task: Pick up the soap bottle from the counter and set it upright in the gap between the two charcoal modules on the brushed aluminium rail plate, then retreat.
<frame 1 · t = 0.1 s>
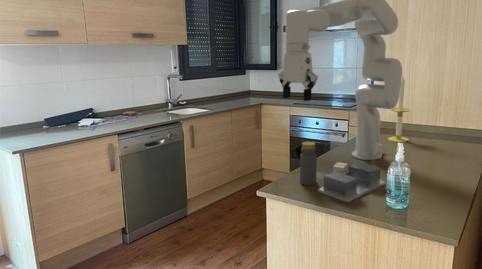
hand: (296, 99, 129), 31 cm above the counter, tool pointing down, fingers open, 9 cm apart
bottle: (308, 182, 136), on the counter
loose block: (340, 174, 143), on the counter
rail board: (352, 188, 130), on the counter
candle: (398, 140, 187), on the counter
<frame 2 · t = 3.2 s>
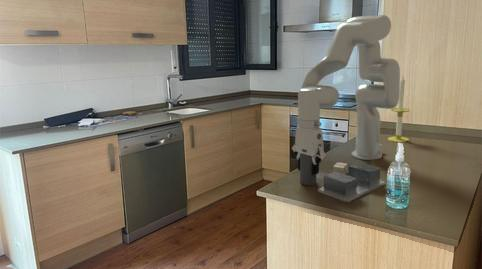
hand: (308, 171, 135), 4 cm above the counter, tool pointing down, fingers closed on bottle, 5 cm apart
bottle: (308, 182, 136), on the counter, touching gripper
everything else where it was.
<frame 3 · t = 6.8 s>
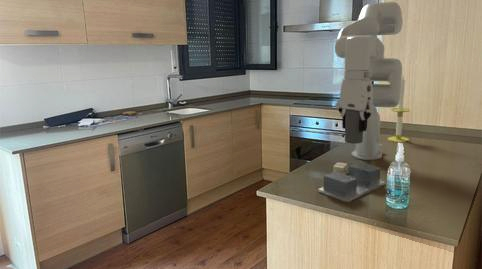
hand: (354, 128, 125), 21 cm above the counter, tool pointing down, fingers closed on bottle, 5 cm apart
bottle: (353, 142, 126), point 17 cm above the counter, touching gripper
everything else where it was.
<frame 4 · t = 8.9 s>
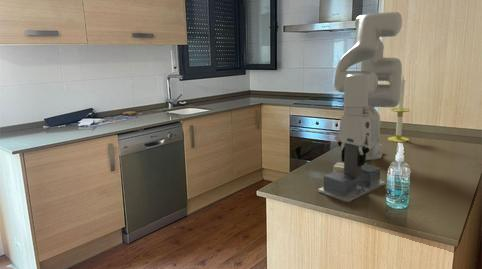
hand: (353, 162, 128), 9 cm above the counter, tool pointing down, fingers closed on bottle, 5 cm apart
bottle: (352, 174, 129), point 5 cm above the counter, touching gripper
everything else where it was.
when the fingers open (7 cm above the counter, at t = 10.4 s): bottle drops 1 cm, resting on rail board.
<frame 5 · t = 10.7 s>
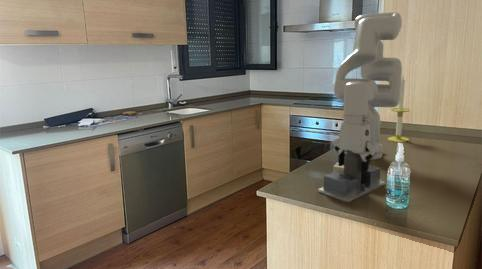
hand: (352, 168, 128), 7 cm above the counter, tool pointing down, fingers open, 8 cm apart
bottle: (351, 185, 130), point 1 cm above the counter, touching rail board
everything else where it was.
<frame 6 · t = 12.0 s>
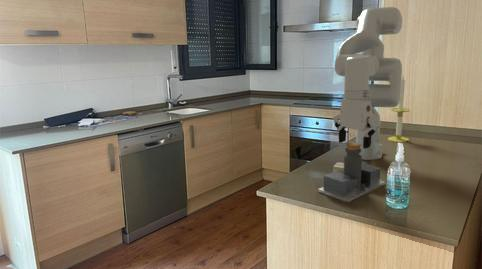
hand: (354, 144, 127), 16 cm above the counter, tool pointing down, fingers open, 9 cm apart
nothing on the counter moved.
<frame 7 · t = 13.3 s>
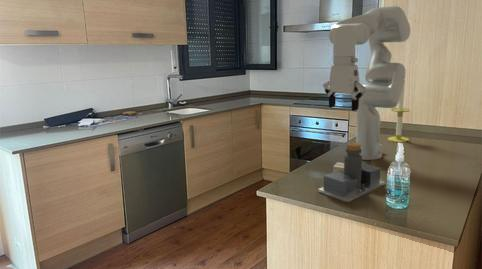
hand: (343, 108, 136), 26 cm above the counter, tool pointing down, fingers open, 9 cm apart
nothing on the counter moved.
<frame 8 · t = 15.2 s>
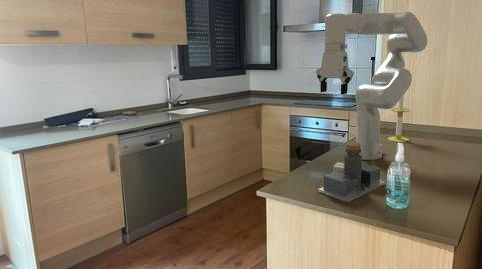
hand: (333, 92, 145), 30 cm above the counter, tool pointing down, fingers open, 9 cm apart
nothing on the counter moved.
at the end: bottle 0.3 cm off-centre on the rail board, point 0.8 cm above the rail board's base; bottle tilted 1°; the gripper is holding nothing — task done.
